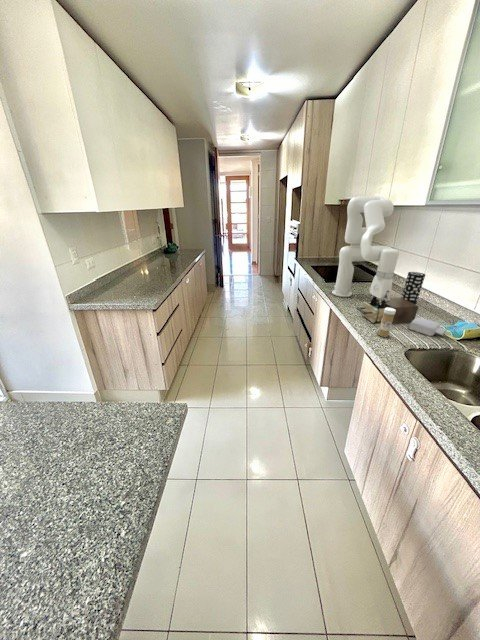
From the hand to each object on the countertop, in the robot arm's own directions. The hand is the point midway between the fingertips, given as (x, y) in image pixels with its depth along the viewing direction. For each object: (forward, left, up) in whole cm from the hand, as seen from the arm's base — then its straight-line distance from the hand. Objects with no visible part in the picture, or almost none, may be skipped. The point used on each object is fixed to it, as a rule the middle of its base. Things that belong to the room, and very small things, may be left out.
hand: (376, 308), depth 136 cm
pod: (0, 0, -4) cm, 4 cm away
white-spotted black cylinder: (-14, +32, -7) cm, 35 cm away
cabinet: (0, +12, -6) cm, 13 cm away
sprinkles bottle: (+17, -6, -7) cm, 19 cm away
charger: (+18, +18, -7) cm, 26 cm away
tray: (0, 0, -6) cm, 6 cm away
